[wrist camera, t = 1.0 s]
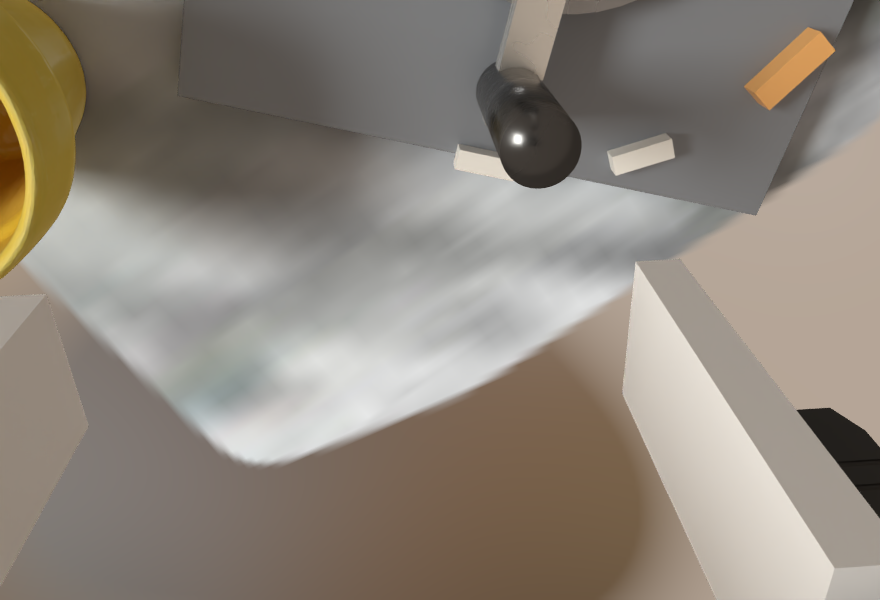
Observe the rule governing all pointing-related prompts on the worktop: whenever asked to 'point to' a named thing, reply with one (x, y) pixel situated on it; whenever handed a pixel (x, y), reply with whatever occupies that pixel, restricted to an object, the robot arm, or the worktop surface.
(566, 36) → the dial plate
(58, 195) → the plant pot
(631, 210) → the worktop surface
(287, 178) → the worktop surface
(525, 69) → the dial
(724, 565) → the robot arm
